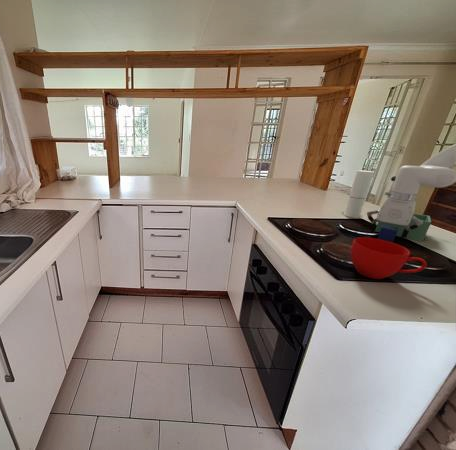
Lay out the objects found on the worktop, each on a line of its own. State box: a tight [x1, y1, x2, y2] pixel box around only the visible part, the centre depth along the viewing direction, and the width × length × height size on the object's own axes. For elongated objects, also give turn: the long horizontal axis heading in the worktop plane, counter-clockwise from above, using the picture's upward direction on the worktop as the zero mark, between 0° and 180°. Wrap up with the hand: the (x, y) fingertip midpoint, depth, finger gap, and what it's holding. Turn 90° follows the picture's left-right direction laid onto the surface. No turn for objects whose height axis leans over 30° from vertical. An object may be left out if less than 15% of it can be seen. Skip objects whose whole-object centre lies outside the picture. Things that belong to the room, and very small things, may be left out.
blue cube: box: [377, 225, 398, 243], centre depth 102 cm, size 5×5×5 cm
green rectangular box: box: [374, 212, 432, 242], centre depth 108 cm, size 16×13×9 cm
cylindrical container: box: [343, 169, 375, 219], centre depth 129 cm, size 7×7×25 cm
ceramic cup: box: [350, 236, 427, 280], centre depth 73 cm, size 13×17×10 cm
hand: (386, 234), depth 102 cm, fingers open, 9 cm apart
